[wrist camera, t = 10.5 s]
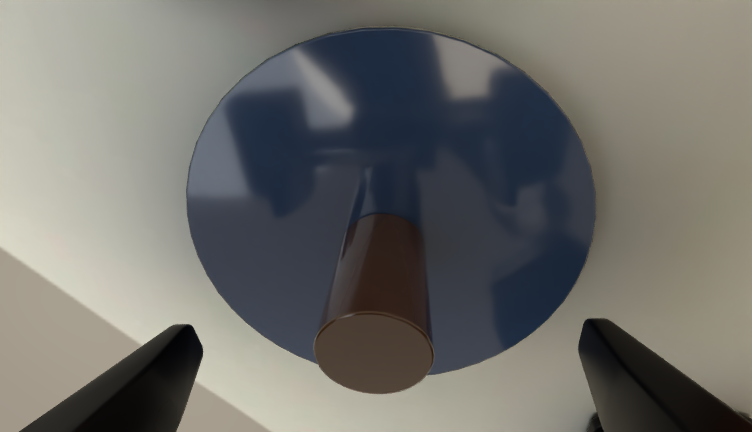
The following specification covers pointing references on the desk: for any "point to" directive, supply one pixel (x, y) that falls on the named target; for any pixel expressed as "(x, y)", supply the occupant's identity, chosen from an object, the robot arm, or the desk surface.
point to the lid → (390, 204)
